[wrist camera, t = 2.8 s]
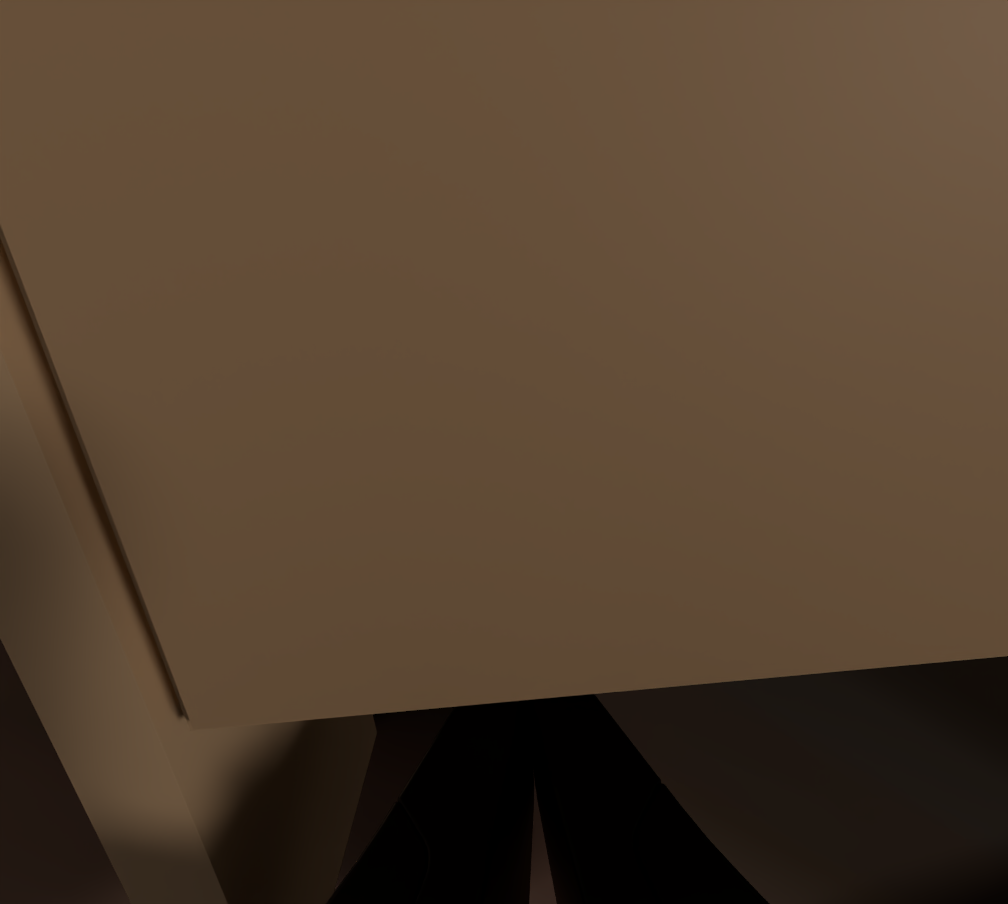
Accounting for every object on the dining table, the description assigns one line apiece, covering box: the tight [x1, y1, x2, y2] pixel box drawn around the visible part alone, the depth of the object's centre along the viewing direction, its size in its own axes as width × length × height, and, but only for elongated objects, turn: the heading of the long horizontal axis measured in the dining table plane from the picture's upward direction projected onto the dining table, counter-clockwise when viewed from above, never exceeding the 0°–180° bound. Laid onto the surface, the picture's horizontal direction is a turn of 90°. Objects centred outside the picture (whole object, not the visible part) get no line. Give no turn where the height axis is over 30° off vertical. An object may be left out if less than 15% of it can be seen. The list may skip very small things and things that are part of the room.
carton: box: [0, 0, 1008, 731], centre depth 5 cm, size 10×10×5 cm
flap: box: [0, 238, 377, 904], centre depth 7 cm, size 14×1×5 cm, turn 7°
